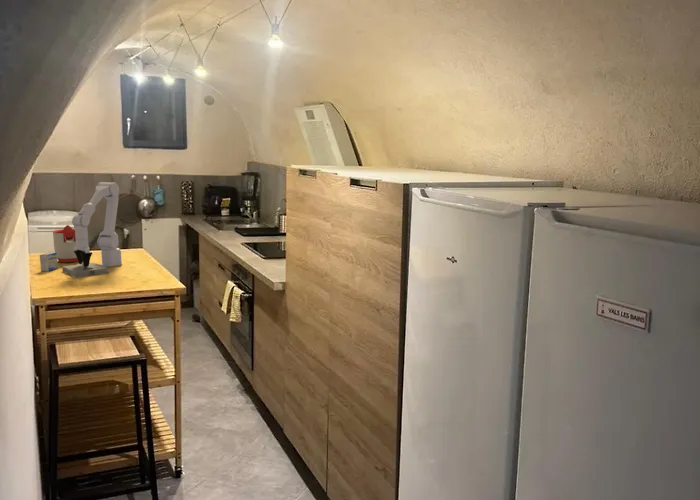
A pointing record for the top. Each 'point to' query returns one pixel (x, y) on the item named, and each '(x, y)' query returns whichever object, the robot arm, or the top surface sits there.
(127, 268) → the top surface
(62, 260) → the citrus juicer
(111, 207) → the robot arm
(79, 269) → the board
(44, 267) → the medicine box
